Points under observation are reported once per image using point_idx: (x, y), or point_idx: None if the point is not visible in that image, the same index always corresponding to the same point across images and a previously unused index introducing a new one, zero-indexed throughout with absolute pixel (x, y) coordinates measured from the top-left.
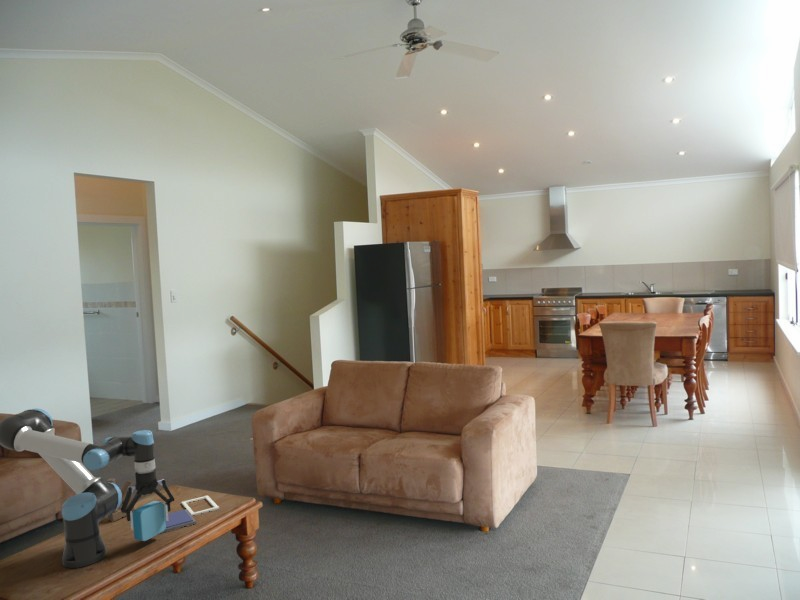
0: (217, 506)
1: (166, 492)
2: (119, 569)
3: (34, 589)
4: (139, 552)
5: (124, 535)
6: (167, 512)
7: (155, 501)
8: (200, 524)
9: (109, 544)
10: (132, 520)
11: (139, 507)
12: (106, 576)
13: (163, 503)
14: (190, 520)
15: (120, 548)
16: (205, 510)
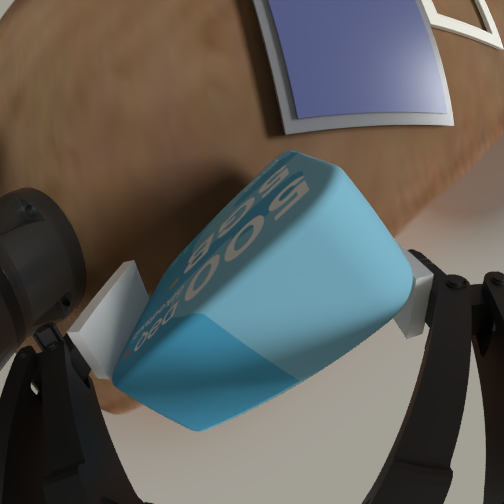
0: (498, 38)
1: (489, 413)
2: None
3: None
4: None
5: (117, 74)
6: None
7: (343, 263)
8: (457, 145)
9: (71, 157)
10: (127, 337)
11: (144, 367)
12: None
13: (410, 280)
14: (438, 110)
15: (117, 224)
16: (472, 34)
